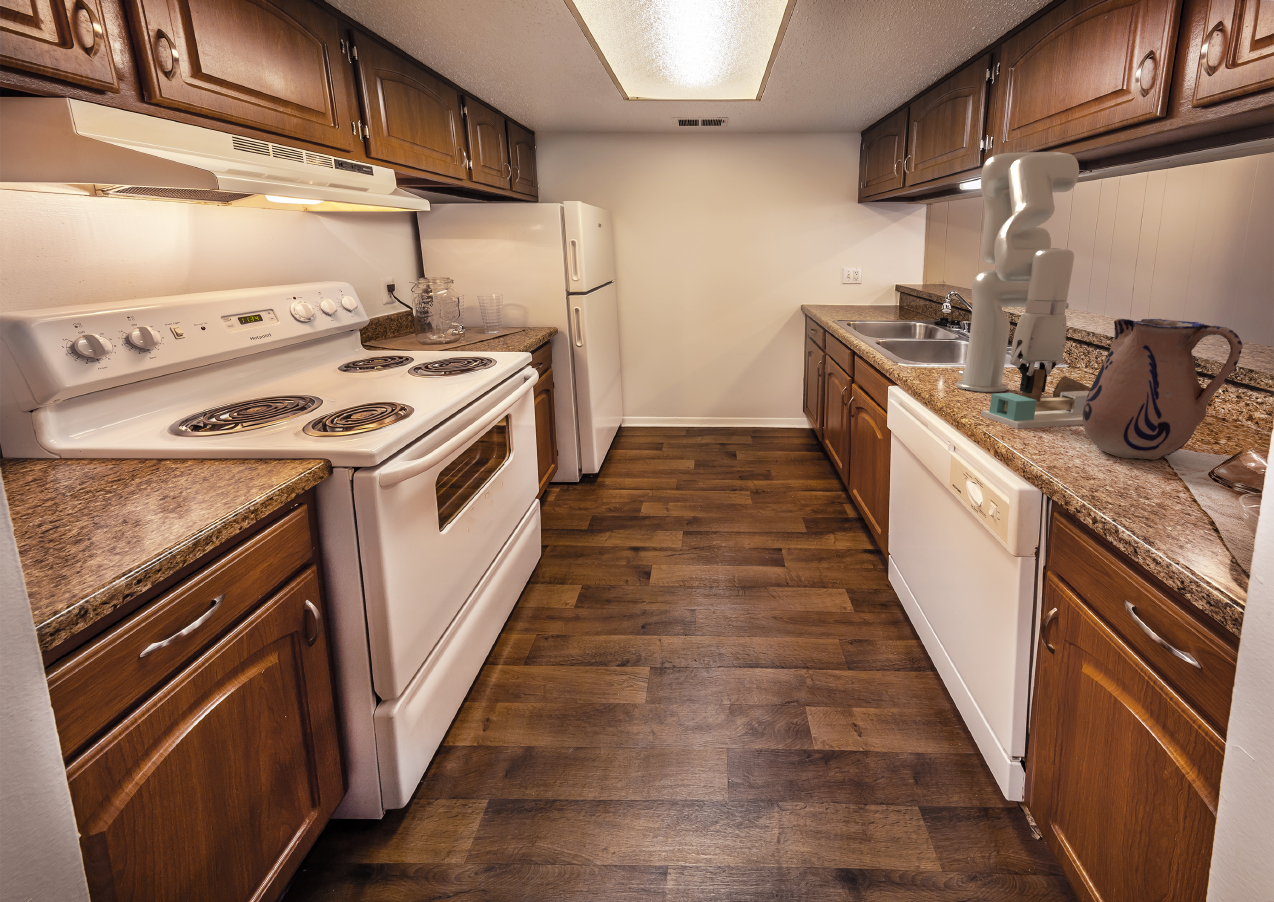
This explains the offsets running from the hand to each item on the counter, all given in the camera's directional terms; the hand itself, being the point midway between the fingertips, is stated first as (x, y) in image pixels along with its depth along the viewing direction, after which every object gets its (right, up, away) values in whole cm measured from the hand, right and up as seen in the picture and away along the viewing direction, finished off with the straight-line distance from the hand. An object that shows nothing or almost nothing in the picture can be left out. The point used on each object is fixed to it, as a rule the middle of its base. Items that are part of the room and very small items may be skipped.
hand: (1031, 391), depth 155 cm
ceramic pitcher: (+7, -14, -24) cm, 29 cm away
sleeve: (+13, -4, +4) cm, 14 cm away
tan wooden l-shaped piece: (+3, -4, +2) cm, 5 cm away
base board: (+5, -6, +3) cm, 8 cm away
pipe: (+26, -1, +20) cm, 33 cm away
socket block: (-4, -5, +1) cm, 7 cm away
